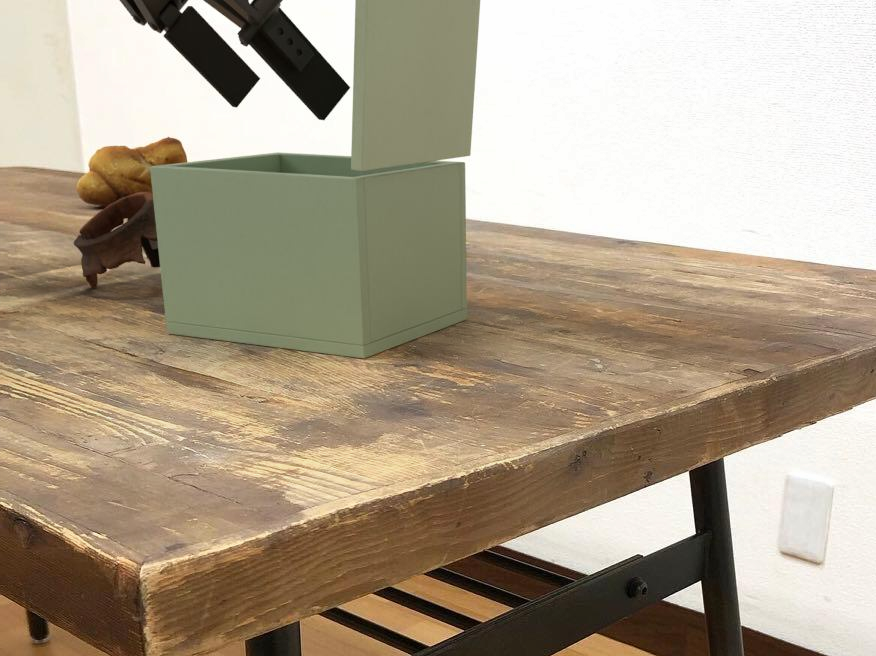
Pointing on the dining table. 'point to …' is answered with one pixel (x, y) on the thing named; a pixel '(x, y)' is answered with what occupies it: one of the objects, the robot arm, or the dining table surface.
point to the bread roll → (126, 170)
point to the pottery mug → (119, 236)
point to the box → (311, 251)
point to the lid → (413, 81)
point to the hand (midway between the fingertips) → (288, 98)
